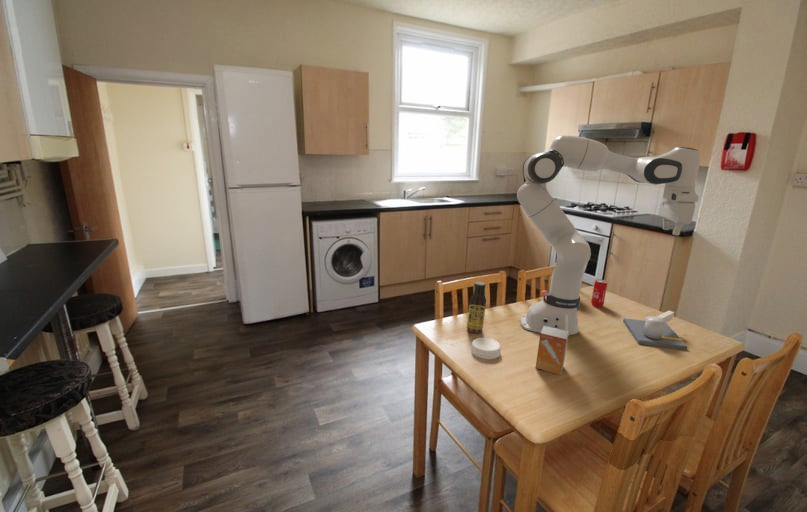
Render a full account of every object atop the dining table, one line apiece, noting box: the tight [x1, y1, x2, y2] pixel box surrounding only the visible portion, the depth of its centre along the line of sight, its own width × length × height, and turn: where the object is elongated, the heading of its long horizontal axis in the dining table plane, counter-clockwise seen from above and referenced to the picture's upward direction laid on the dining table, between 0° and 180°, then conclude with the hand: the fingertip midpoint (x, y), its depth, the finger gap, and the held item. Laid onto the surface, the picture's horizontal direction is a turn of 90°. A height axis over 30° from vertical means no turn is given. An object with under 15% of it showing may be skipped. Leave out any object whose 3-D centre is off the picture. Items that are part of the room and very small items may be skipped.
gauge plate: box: [622, 317, 688, 351], centre depth 151 cm, size 16×20×2 cm
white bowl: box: [471, 337, 502, 360], centre depth 135 cm, size 10×10×4 cm
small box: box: [535, 326, 570, 376], centre depth 125 cm, size 8×6×13 cm
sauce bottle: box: [466, 281, 487, 334], centre depth 149 cm, size 7×6×20 cm
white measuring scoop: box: [643, 310, 675, 339], centre depth 149 cm, size 17×6×6 cm, turn 125°
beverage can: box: [591, 279, 608, 308], centre depth 178 cm, size 5×5×12 cm
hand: (670, 232), depth 141 cm, fingers open, 8 cm apart
